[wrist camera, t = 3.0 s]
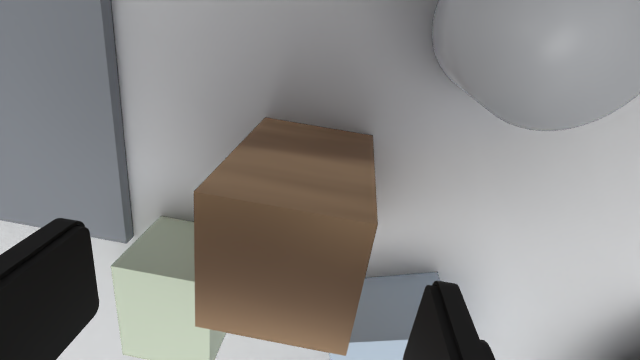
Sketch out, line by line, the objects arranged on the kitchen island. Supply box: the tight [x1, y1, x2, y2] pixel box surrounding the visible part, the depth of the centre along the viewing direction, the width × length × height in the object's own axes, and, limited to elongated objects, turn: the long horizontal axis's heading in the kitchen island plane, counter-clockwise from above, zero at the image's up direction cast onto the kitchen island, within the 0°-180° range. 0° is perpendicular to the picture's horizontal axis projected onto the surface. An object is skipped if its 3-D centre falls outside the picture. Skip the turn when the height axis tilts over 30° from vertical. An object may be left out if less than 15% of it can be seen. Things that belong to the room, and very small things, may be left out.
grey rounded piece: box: [432, 0, 640, 131], centre depth 11 cm, size 5×5×4 cm
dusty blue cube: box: [329, 272, 440, 360], centre depth 17 cm, size 5×5×4 cm
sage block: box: [111, 216, 226, 360], centre depth 17 cm, size 5×4×4 cm
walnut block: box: [194, 118, 378, 356], centre depth 13 cm, size 4×4×7 cm
